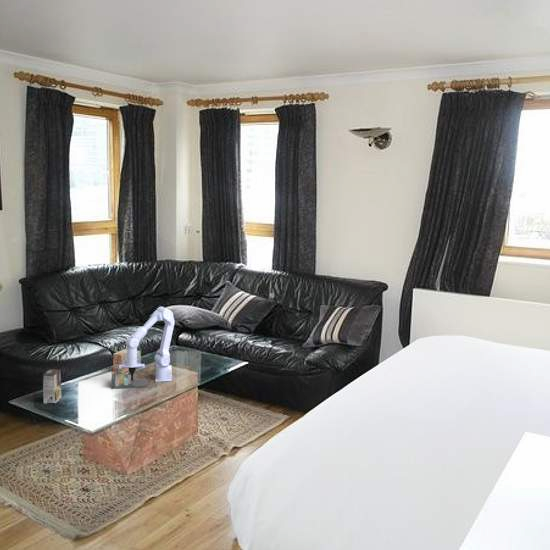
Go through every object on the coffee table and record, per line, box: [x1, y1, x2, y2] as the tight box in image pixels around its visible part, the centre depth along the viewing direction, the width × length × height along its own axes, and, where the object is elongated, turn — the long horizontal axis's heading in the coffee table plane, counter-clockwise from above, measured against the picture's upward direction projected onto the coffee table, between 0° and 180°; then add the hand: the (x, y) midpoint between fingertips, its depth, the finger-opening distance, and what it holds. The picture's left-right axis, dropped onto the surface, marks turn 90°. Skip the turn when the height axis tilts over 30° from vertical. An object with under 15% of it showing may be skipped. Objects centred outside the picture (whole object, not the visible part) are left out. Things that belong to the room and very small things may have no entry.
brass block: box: [118, 373, 125, 385], centre depth 345 cm, size 3×7×4 cm, turn 13°
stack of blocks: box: [112, 348, 142, 374], centre depth 376 cm, size 21×6×12 cm, turn 159°
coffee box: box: [42, 368, 62, 404], centre depth 316 cm, size 9×6×16 cm
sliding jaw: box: [123, 371, 131, 386], centre depth 346 cm, size 4×10×5 cm, turn 13°
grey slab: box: [111, 373, 148, 390], centre depth 346 cm, size 20×12×6 cm, turn 103°
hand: (132, 379), depth 346 cm, fingers closed
